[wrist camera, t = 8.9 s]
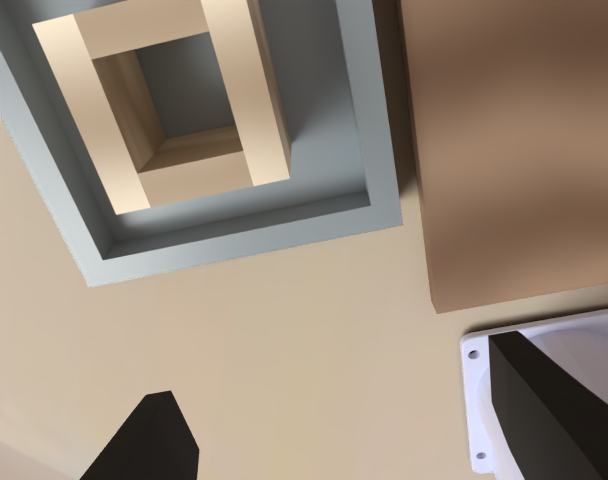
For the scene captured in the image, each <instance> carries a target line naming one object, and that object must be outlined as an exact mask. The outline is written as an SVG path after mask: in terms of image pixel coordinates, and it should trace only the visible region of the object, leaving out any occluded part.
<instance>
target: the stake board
mask: <svg viewBox="0 0 608 480" xmlns="http://www.w3.org/2000/svg"><path fill="white" fill-rule="evenodd" d="M396 9H397V17H398V25H399V34H400V42H401V51H402V59H403V67H404V76H405V84H406V92H407V101H408V109H409V117H410V126H411V134H412V143H413V151H414V159H415V168H416V176H417V184H418V193H419V201H420V210H421V218H422V226H423V235H424V243H425V251H426V260H427V268H428V277H429V285H430V293H431V301H432V303H433V305H434V308H435V310H436V313H437V314H439V313H445V312H450V311H456V310H462V309H467V308H473V307H478V306H484V305H489V304H495V303H500V302H506V301H512V300H517V299H523V298H528V297H534V296H539V295H545V294H550V293H556V292H562V291H567V290H573V289H578V288H584V287H589V286H595V285H600V284H606V283H608V0H396Z"/></svg>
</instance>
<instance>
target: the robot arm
mask: <svg viewBox="0 0 608 480" xmlns="http://www.w3.org/2000/svg"><path fill="white" fill-rule="evenodd" d="M473 350H476V351H475V352H474V353H470V352H471V351H473ZM460 351H461V362H462V373H463V384H464V395H465V406H466V417H467V428H468V439H469V451H470V462H471V466H472V469H473V471H474V472H476V473H479V474H483V473H490V472H494V475H495V477H496V480H608V309H604V310H598V311H592V312H587V313H581V314H575V315H570V316H564V317H558V318H552V319H547V320H541V321H535V322H530V323H524V324H518V325H512V326H507V327H501V328H495V329H490V330H484V331H478V332H472V333H468V334H466V335H464V336H463V337H462V338H461V340H460ZM198 460H199V448H198V446H197V444H196V441H195V439H194V437H193V435H192V433H191V431H190V429H189V427H188V425H187V423H186V421H185V419H184V417H183V414H182V412H181V410H180V408H179V406H178V404H177V402H176V400H175V398H174V396H173V394H172V392H171V391H165V392H159V393H154V394H148V395H146V396H145V397H144V398H143V399H142V400H141V402H140V403H139V404H138V405H137V407H136V408H135V409H134V410H133V412H132V413H131V414H130V416H129V417H128V418H127V419H126V421H125V422H124V423H123V425H122V426H121V427H120V429H119V430H118V431H117V433H116V434H115V435H114V436H113V438H112V439H111V440H110V442H109V443H108V444H107V445H106V447H105V448H104V449H103V451H102V452H101V453H100V454H99V456H98V457H97V458H96V459H95V461H94V462H93V463H92V465H91V466H90V467H89V468H88V470H87V471H86V472H85V473H84V475H83V476H82V477H81V478H80V480H197V472H198Z"/></svg>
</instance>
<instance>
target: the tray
mask: <svg viewBox="0 0 608 480" xmlns="http://www.w3.org/2000/svg"><path fill="white" fill-rule="evenodd" d="M122 1H126V0H0V117H1V119H2V121H3V123H4V125H5V127H6V129H7V131H8V133H9V135H10V136H11V138H12V140H13V142H14V144H15V146H16V148H17V150H18V152H19V154H20V156H21V158H22V160H23V161H24V163H25V165H26V167H27V169H28V171H29V173H30V175H31V177H32V179H33V181H34V183H35V185H36V186H37V188H38V190H39V192H40V194H41V196H42V198H43V200H44V202H45V204H46V206H47V208H48V210H49V211H50V213H51V215H52V217H53V219H54V221H55V223H56V225H57V227H58V229H59V231H60V233H61V235H62V237H63V238H64V240H65V242H66V244H67V246H68V248H69V250H70V252H71V254H72V256H73V258H74V260H75V262H76V263H77V265H78V267H79V269H80V271H81V273H82V275H83V277H84V279H85V281H86V283H87V285H88V287H89V288H90V287H95V286H100V285H105V284H110V283H115V282H120V281H125V280H130V279H135V278H140V277H145V276H150V275H155V274H160V273H165V272H170V271H175V270H180V269H186V268H191V267H196V266H201V265H206V264H211V263H216V262H221V261H226V260H231V259H236V258H241V257H246V256H251V255H256V254H261V253H266V252H271V251H276V250H281V249H286V248H291V247H296V246H301V245H306V244H311V243H316V242H321V241H326V240H331V239H336V238H341V237H346V236H351V235H356V234H361V233H366V232H371V231H376V230H381V229H386V228H391V227H396V226H401V225H403V220H402V213H401V206H400V199H399V191H398V184H397V177H396V170H395V163H394V156H393V149H392V142H391V134H390V127H389V120H388V113H387V106H386V99H385V92H384V85H383V77H382V70H381V63H380V56H379V49H378V42H377V35H376V28H375V20H374V13H373V6H372V0H258V1H259V5H260V10H261V14H262V18H263V22H264V27H265V31H266V35H267V40H268V44H269V48H270V52H271V57H272V61H273V65H274V69H275V74H276V78H277V82H278V86H279V91H280V95H281V99H282V103H283V108H284V112H285V116H286V120H287V125H288V129H289V133H290V137H291V142H292V152H291V171H290V179H286V180H281V181H276V182H272V183H267V184H262V185H257V186H252V187H248V188H243V189H238V190H233V191H228V192H224V193H219V194H214V195H209V196H204V197H200V198H195V199H190V200H185V201H180V202H175V203H171V204H166V205H161V206H156V207H151V208H147V209H142V210H137V211H132V212H127V213H123V214H118V215H116V213H115V211H114V208H113V206H112V204H111V202H110V199H109V197H108V195H107V193H106V190H105V188H104V186H103V184H102V181H101V179H100V177H99V175H98V172H97V170H96V168H95V166H94V163H93V161H92V159H91V157H90V154H89V152H88V150H87V147H86V145H85V143H84V141H83V138H82V136H81V134H80V132H79V129H78V127H77V125H76V123H75V120H74V118H73V116H72V114H71V111H70V109H69V107H68V105H67V102H66V100H65V98H64V96H63V93H62V91H61V89H60V87H59V84H58V82H57V80H56V78H55V75H54V73H53V71H52V68H51V66H50V64H49V62H48V59H47V57H46V55H45V53H44V50H43V48H42V46H41V44H40V41H39V39H38V37H37V35H36V32H35V30H34V28H33V26H32V24H35V23H39V22H43V21H47V20H51V19H55V18H59V17H63V16H67V15H71V14H75V13H79V12H83V11H87V10H91V9H94V8H98V7H102V6H106V5H110V4H114V3H118V2H122ZM134 50H135V53H136V55H137V58H138V61H139V64H140V66H141V69H142V72H143V75H144V78H145V80H146V83H147V86H148V89H149V92H150V94H151V97H152V100H153V103H154V105H155V108H156V111H157V114H158V117H159V119H160V122H161V125H162V128H163V131H164V133H165V136H166V139H170V138H175V137H180V136H184V135H189V134H193V133H198V132H202V131H207V130H211V129H216V128H220V127H225V126H229V125H234V124H236V123H235V119H234V116H233V112H232V109H231V105H230V102H229V98H228V95H227V91H226V88H225V84H224V81H223V77H222V74H221V70H220V67H219V63H218V60H217V56H216V53H215V49H214V45H213V42H212V38H211V35H210V31H208V32H204V33H200V34H195V35H191V36H187V37H183V38H179V39H175V40H171V41H167V42H162V43H158V44H154V45H150V46H146V47H142V48H138V49H134Z"/></svg>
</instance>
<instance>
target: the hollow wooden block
mask: <svg viewBox="0 0 608 480" xmlns="http://www.w3.org/2000/svg"><path fill="white" fill-rule="evenodd" d="M32 26H33V28H34V30H35V32H36V35H37V37H38V39H39V41H40V44H41V46H42V48H43V50H44V53H45V55H46V57H47V59H48V62H49V64H50V66H51V68H52V71H53V73H54V75H55V78H56V80H57V82H58V84H59V87H60V89H61V91H62V93H63V96H64V98H65V100H66V102H67V105H68V107H69V109H70V111H71V114H72V116H73V118H74V120H75V123H76V125H77V127H78V129H79V132H80V134H81V136H82V138H83V141H84V143H85V145H86V147H87V150H88V152H89V154H90V157H91V159H92V161H93V163H94V166H95V168H96V170H97V172H98V175H99V177H100V179H101V181H102V184H103V186H104V188H105V190H106V193H107V195H108V197H109V199H110V202H111V204H112V206H113V208H114V211H115V213H116V215H118V214H123V213H127V212H132V211H137V210H142V209H147V208H151V207H156V206H161V205H166V204H171V203H175V202H180V201H185V200H190V199H195V198H200V197H204V196H209V195H214V194H219V193H224V192H228V191H233V190H238V189H243V188H248V187H252V186H257V185H262V184H267V183H272V182H276V181H281V180H286V179H290V171H291V152H292V142H291V137H290V133H289V129H288V125H287V120H286V116H285V112H284V108H283V103H282V99H281V95H280V91H279V86H278V82H277V78H276V74H275V69H274V65H273V61H272V57H271V52H270V48H269V44H268V40H267V35H266V31H265V27H264V22H263V18H262V14H261V10H260V5H259V1H258V0H126V1H122V2H118V3H114V4H110V5H106V6H102V7H98V8H94V9H91V10H87V11H83V12H79V13H75V14H71V15H67V16H63V17H59V18H55V19H51V20H47V21H43V22H39V23H35V24H32ZM208 31H210V35H211V38H212V42H213V45H214V49H215V53H216V56H217V60H218V63H219V67H220V70H221V74H222V77H223V81H224V84H225V88H226V91H227V95H228V98H229V102H230V105H231V109H232V112H233V116H234V119H235V123H236V124H234V125H229V126H225V127H220V128H216V129H211V130H207V131H202V132H198V133H193V134H189V135H184V136H180V137H175V138H170V139H166V136H165V133H164V131H163V128H162V125H161V122H160V119H159V117H158V114H157V111H156V108H155V105H154V103H153V100H152V97H151V94H150V92H149V89H148V86H147V83H146V80H145V78H144V75H143V72H142V69H141V66H140V64H139V61H138V58H137V55H136V53H135V50H134V49H138V48H142V47H146V46H150V45H154V44H158V43H162V42H167V41H171V40H175V39H179V38H183V37H187V36H191V35H195V34H200V33H204V32H208Z"/></svg>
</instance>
